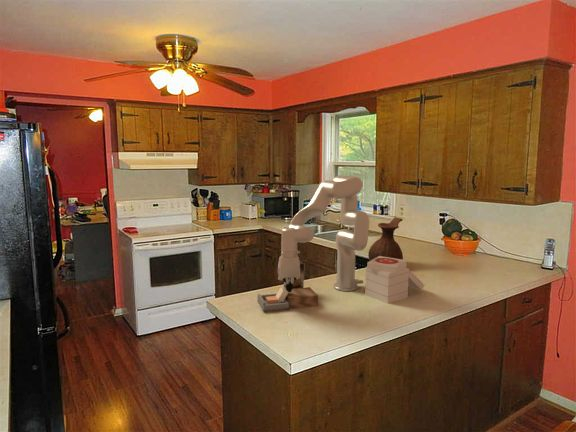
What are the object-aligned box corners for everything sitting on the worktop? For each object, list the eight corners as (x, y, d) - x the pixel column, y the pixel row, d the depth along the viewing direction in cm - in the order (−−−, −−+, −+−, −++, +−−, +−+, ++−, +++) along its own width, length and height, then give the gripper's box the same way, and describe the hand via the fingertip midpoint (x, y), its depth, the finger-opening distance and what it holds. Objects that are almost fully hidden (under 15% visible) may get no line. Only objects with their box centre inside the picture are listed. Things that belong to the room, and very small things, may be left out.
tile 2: (285, 289, 198) (280, 286, 197) (288, 292, 193) (283, 290, 192) (280, 298, 198) (275, 296, 197) (283, 302, 193) (278, 299, 192)
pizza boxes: (427, 293, 212) (429, 259, 209) (387, 305, 195) (389, 268, 192) (397, 283, 227) (399, 251, 224) (358, 293, 210) (359, 259, 207)
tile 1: (265, 296, 196) (265, 302, 196) (267, 300, 191) (267, 306, 191) (275, 295, 197) (275, 301, 197) (278, 299, 192) (278, 305, 193)
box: (281, 298, 203) (281, 291, 202) (289, 309, 190) (289, 301, 189) (257, 301, 200) (257, 293, 199) (263, 312, 187) (263, 303, 186)
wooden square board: (309, 296, 206) (309, 287, 205) (317, 305, 195) (317, 295, 194) (282, 299, 202) (282, 289, 201) (289, 308, 191) (289, 298, 190)
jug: (407, 271, 250) (409, 222, 245) (371, 270, 250) (373, 222, 245) (398, 261, 271) (400, 216, 266) (365, 261, 272) (367, 216, 267)
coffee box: (286, 295, 208) (286, 264, 205) (283, 291, 214) (283, 261, 211) (303, 293, 210) (304, 263, 207) (300, 289, 216) (300, 260, 214)
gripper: (301, 251, 198) (301, 287, 201) (272, 252, 194) (272, 289, 197) (306, 254, 191) (306, 292, 194) (275, 256, 187) (275, 295, 190)
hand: (289, 291), depth 196 cm, fingers closed
